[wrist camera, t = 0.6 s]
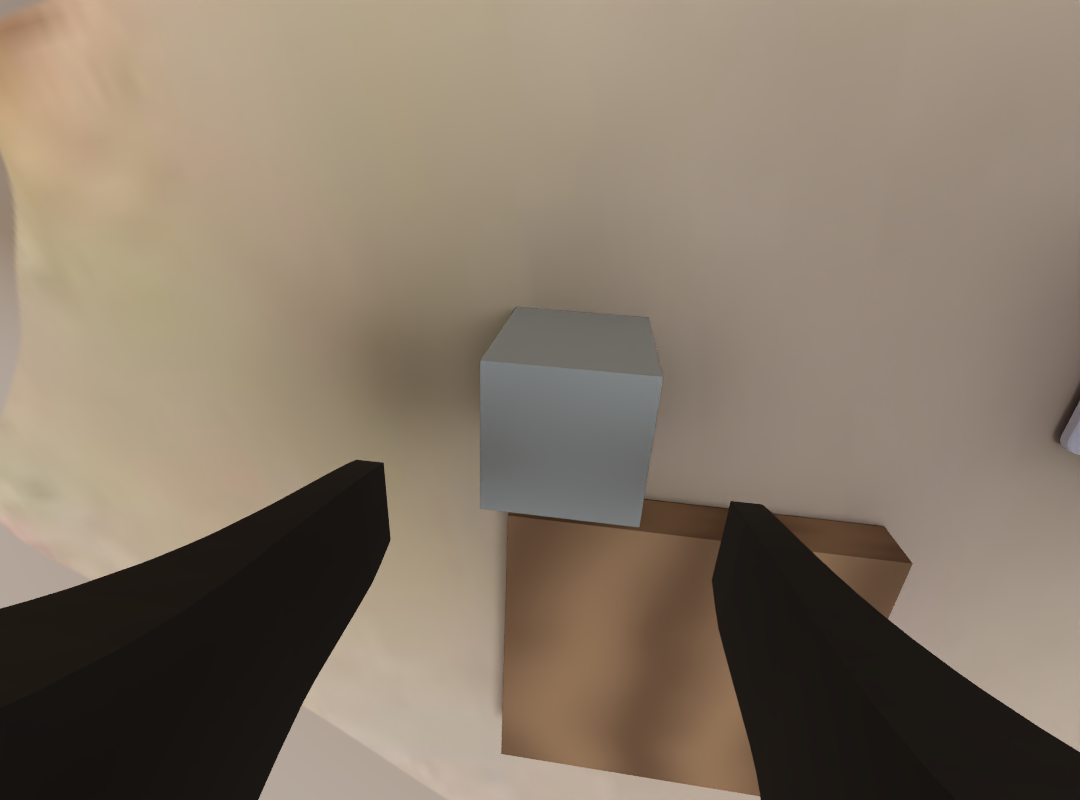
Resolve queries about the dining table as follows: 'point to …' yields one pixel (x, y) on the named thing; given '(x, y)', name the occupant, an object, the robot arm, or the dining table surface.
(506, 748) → the board
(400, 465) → the dining table surface
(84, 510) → the dining table surface
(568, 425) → the block
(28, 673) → the robot arm
